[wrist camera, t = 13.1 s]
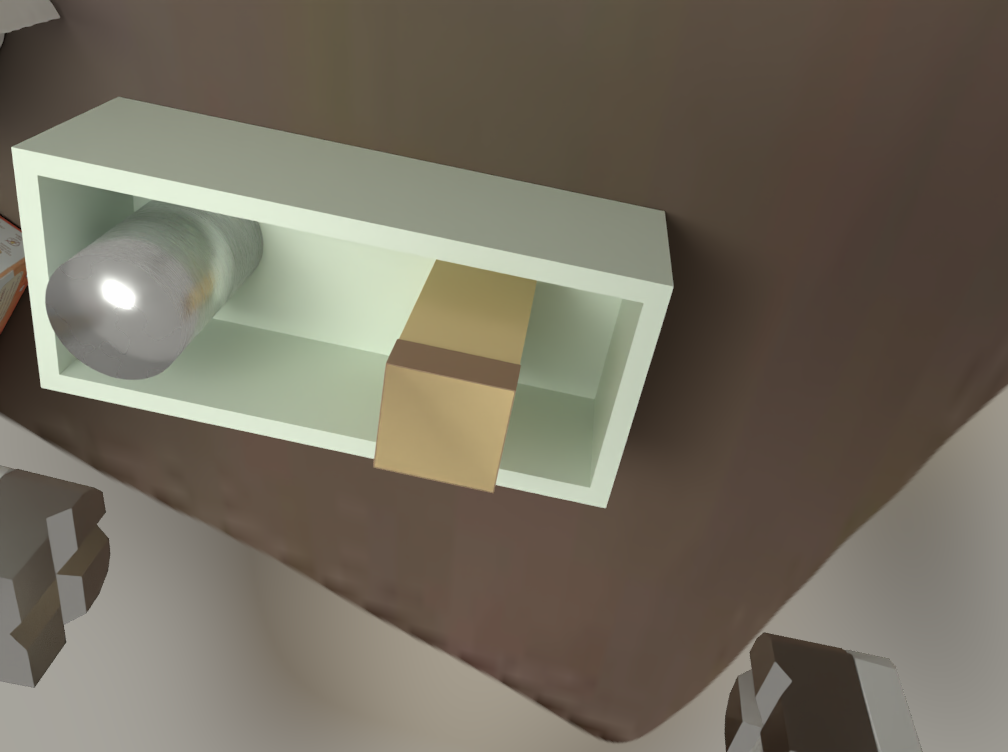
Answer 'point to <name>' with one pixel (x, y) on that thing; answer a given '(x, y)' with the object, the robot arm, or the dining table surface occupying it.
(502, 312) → the oat carton
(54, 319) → the tin can
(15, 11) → the toilet tissue
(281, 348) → the tote
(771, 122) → the dining table surface
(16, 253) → the cracker box
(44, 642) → the robot arm
